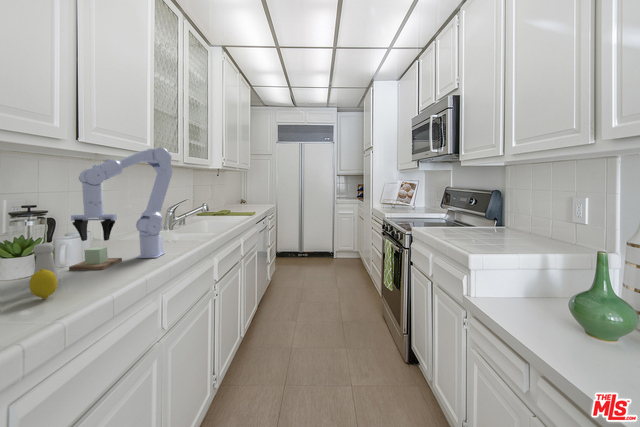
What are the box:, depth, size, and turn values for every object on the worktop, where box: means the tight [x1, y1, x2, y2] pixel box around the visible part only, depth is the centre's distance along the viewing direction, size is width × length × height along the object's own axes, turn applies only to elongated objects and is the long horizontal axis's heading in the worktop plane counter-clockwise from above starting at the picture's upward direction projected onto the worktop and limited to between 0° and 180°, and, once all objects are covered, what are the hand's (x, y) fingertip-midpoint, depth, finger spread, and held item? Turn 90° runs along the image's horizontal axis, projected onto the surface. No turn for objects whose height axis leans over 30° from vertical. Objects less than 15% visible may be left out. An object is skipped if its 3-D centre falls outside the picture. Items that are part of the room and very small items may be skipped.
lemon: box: [29, 269, 58, 300], centre depth 87 cm, size 6×6×8 cm
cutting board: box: [68, 257, 123, 271], centre depth 122 cm, size 13×11×1 cm
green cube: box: [84, 246, 109, 264], centre depth 122 cm, size 5×5×5 cm
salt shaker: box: [33, 242, 60, 286], centre depth 94 cm, size 6×6×13 cm
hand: (95, 240), depth 121 cm, fingers open, 7 cm apart
